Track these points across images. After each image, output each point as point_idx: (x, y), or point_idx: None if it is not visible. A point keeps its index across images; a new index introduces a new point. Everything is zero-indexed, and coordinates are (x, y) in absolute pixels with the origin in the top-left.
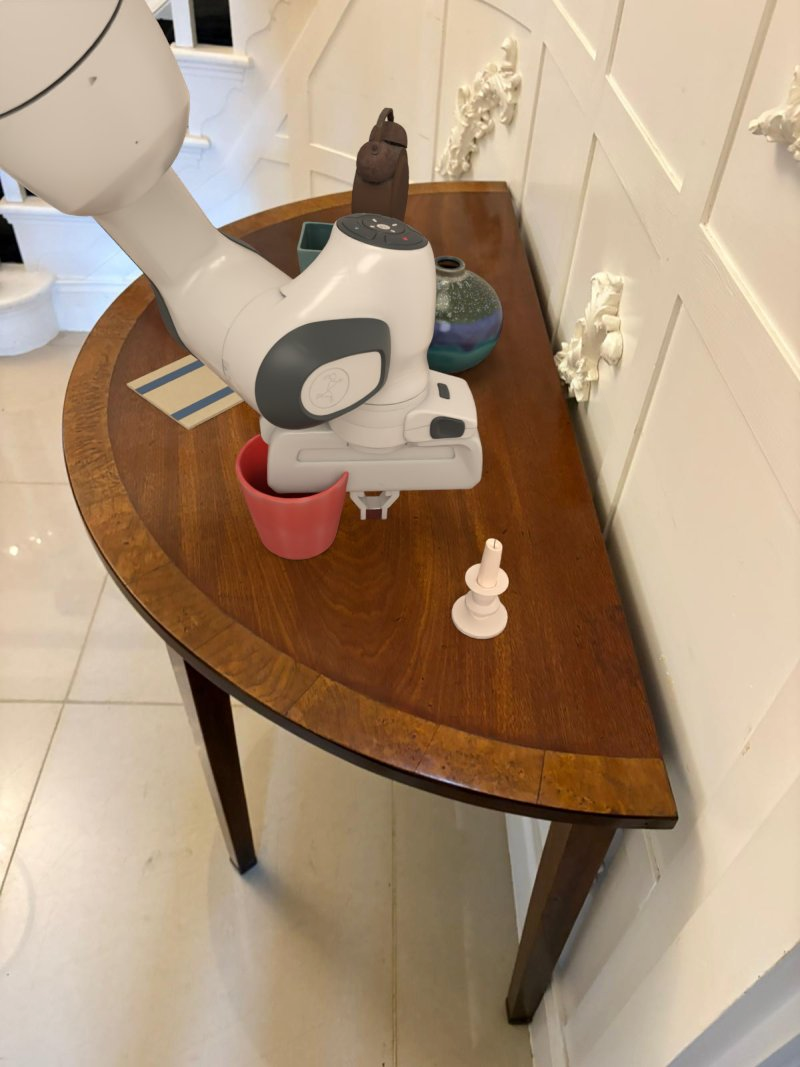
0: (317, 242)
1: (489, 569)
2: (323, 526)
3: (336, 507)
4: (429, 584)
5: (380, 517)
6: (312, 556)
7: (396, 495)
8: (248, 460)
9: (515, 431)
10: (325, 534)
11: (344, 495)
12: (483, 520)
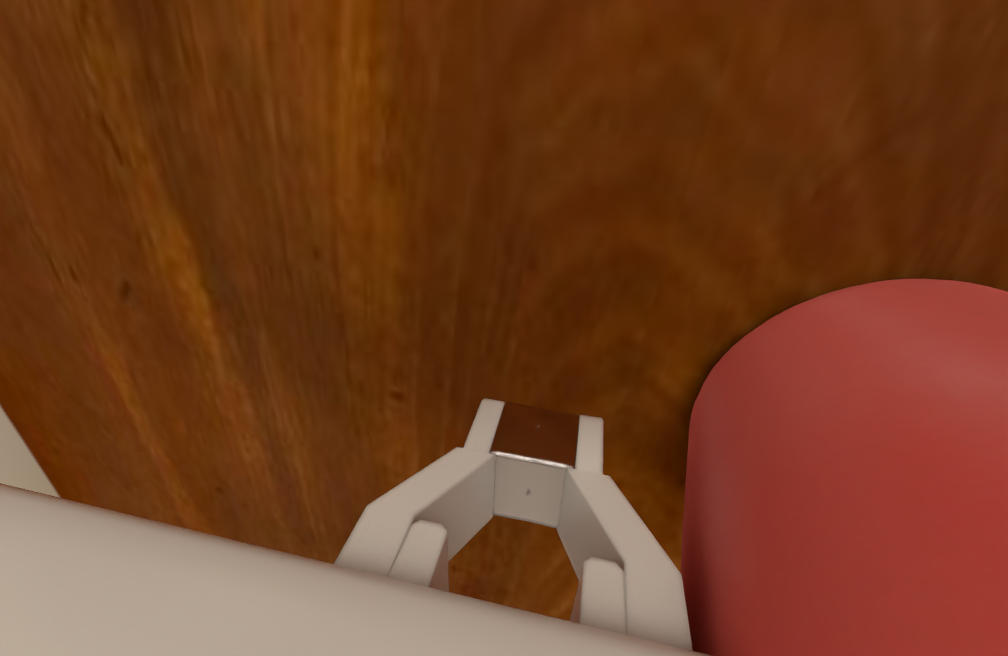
0: None
1: None
2: (971, 402)
3: (886, 552)
4: (343, 43)
5: (508, 409)
6: (870, 284)
7: (379, 515)
8: None
9: None
10: (865, 359)
11: (766, 634)
12: (195, 345)
